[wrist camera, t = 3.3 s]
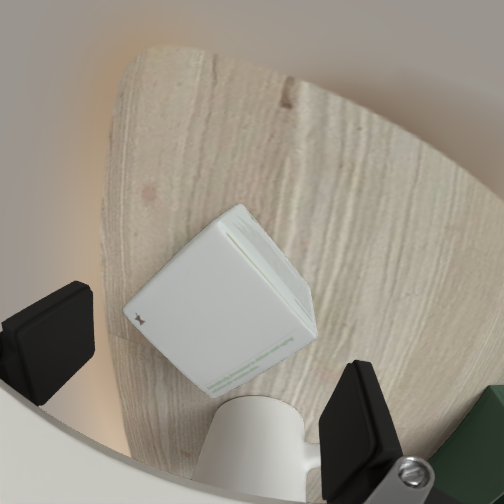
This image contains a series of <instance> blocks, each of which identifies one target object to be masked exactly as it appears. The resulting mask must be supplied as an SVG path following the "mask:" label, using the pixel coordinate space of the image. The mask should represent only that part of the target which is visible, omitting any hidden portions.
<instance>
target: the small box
mask: <svg viewBox="0 0 504 504" xmlns="http://www.w3.org/2000/svg"><path fill="white" fill-rule="evenodd" d="M122 312H123V314H124V315H125V316H126V317H127V318H128V319H129V321H130V322H131V323H132V324H133V325H134V326H135V327H136V328H137V329H138V330H139V331H140V332H141V333H142V334H143V335H144V336H145V337H146V338H147V339H148V340H149V341H150V342H151V343H152V344H153V345H154V346H155V347H156V348H157V349H158V350H159V351H160V352H161V353H162V354H163V355H164V356H165V357H166V358H167V359H168V360H169V361H170V362H171V363H172V364H173V365H174V366H175V367H176V368H177V369H178V370H179V371H181V372H182V373H183V374H184V375H185V376H186V377H187V378H188V379H189V380H190V381H191V382H193V383H194V384H195V385H196V386H197V387H198V388H200V389H201V390H202V391H203V392H205V393H206V394H207V395H208V396H210V397H211V398H212V399H216V398H218V397H220V396H222V395H223V394H225V393H227V392H229V391H231V390H233V389H235V388H237V387H239V386H240V385H242V384H244V383H246V382H248V381H249V380H251V379H253V378H255V377H256V376H258V375H260V374H262V373H263V372H265V371H267V370H268V369H270V368H272V367H273V366H275V365H277V364H278V363H280V362H282V361H283V360H285V359H286V358H288V357H289V356H291V355H293V354H294V353H296V352H298V351H299V350H301V349H302V348H304V347H305V346H307V345H308V344H310V343H312V342H313V341H315V340H316V339H317V338H318V336H317V328H316V321H315V315H314V309H313V303H312V297H311V291H310V287H309V285H308V284H307V283H306V282H305V280H304V279H303V278H302V277H301V275H300V274H299V273H298V271H297V270H296V269H295V268H294V266H293V265H292V264H291V263H290V261H289V260H288V259H287V258H286V256H285V255H284V254H283V253H282V252H281V250H280V249H279V248H278V247H277V245H276V244H275V243H274V242H273V240H272V239H271V238H270V237H269V235H268V234H267V233H266V232H265V230H264V229H263V228H262V227H261V226H260V224H259V223H258V222H257V221H256V220H255V219H254V217H253V216H252V215H251V214H250V213H249V212H248V210H247V209H246V208H245V207H244V206H243V205H242V204H236V205H235V206H233V207H232V208H230V209H229V210H227V211H226V212H224V213H223V214H222V215H220V216H219V217H217V218H216V219H215V220H214V221H212V222H211V223H210V224H209V225H207V226H206V227H205V228H204V229H203V230H202V231H200V232H199V233H198V234H197V235H196V236H195V237H194V238H192V239H191V240H190V241H189V242H188V243H187V244H186V245H185V246H184V247H183V248H182V249H181V250H180V251H178V252H177V253H176V254H175V255H174V256H173V257H172V258H171V259H170V260H169V261H168V262H167V263H166V264H165V265H164V266H163V267H162V268H161V269H160V270H159V271H158V272H157V273H156V274H155V275H154V276H153V277H152V278H151V279H150V280H149V281H148V282H147V283H146V284H145V285H144V286H143V287H142V288H141V289H140V290H139V291H138V292H137V293H136V294H135V295H134V296H133V297H132V298H131V299H130V300H129V301H128V302H127V303H126V305H125V306H124V307H123V309H122Z"/></svg>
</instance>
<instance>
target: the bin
mask: <svg viewBox="0 0 504 504" xmlns="http://www.w3.org/2000/svg"><path fill="white" fill-rule="evenodd" d="M428 463H429V464H430V465H431V467H432V468H433V471H434V474H435V480H434V484H433V486H435V487H436V488H438V489H440V490H441V491H443V492H445V493H446V494H448V495H450V496H451V497H453V498H455V499H456V500H458V501H460V502H462V503H463V504H504V385H489V386H488V388H487V389H486V391H485V392H484V393H483V395H482V396H481V398H480V399H479V401H478V402H477V403H476V405H475V406H474V408H473V409H472V410H471V412H470V413H469V414H468V416H467V417H466V418H465V420H464V421H463V422H462V423H461V425H460V426H459V427H458V428H457V429H456V431H455V432H454V433H453V434H452V435H451V437H450V438H449V439H448V440H447V441H446V442H445V444H444V445H443V446H442V447H441V448H440V449H439V450H438V451H437V452H436V453H435V454H434V456H433V457H432V458H431V459H430V460H429V461H428Z"/></svg>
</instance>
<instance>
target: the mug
mask: <svg viewBox="0 0 504 504" xmlns="http://www.w3.org/2000/svg"><path fill="white" fill-rule="evenodd" d="M318 467H321V457H320V443H306V442H305V433H304V422H303V419H302V417H301V415H300V414H299V412H298V411H297V410H296V409H294V408H293V407H292V406H290V405H289V404H287V403H285V402H283V401H280V400H277V399H274V398H270V397H264V396H244V397H239V398H235V399H232V400H230V401H228V402H226V403H224V404H223V405H221V406H220V407H219V409H218V410H217V411H216V413H215V415H214V418H213V420H212V423H211V426H210V428H209V431H208V433H207V436H206V439H205V442H204V444H203V447H202V450H201V453H200V456H199V458H198V461H197V464H196V467H195V470H194V472H193V475H192V478H191V480H193V481H196V482H200V483H203V484H207V485H211V486H215V487H218V488H223V489H227V490H231V491H236V492H240V493H245V494H251V495H256V496H262V497H268V498H275V499H282V500H289V501H298V502H306V476H307V473H308V472H309V471H310V470H311V469H314V468H318Z"/></svg>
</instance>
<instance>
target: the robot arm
mask: <svg viewBox="0 0 504 504" xmlns="http://www.w3.org/2000/svg"><path fill="white" fill-rule="evenodd" d="M1 324H2V328H3V331H2V332H0V504H321V503H308V502H298V501H289V500H282V499H275V498H268V497H262V496H256V495H251V494H245V493H240V492H236V491H231V490H227V489H223V488H218V487H215V486H211V485H207V484H203V483H200V482H196V481H193V480H190V479H186V478H183V477H180V476H177V475H174V474H171V473H168V472H165V471H163V470H160V469H157V468H155V467H152V466H149V465H147V464H144V463H142V462H139V461H137V460H135V459H132V458H130V457H128V456H125V455H123V454H121V453H119V452H117V451H114V450H112V449H110V448H108V447H106V446H104V445H102V444H100V443H98V442H96V441H94V440H92V439H90V438H88V437H87V436H85V435H83V434H81V433H80V432H78V431H76V430H74V429H72V428H71V427H69V426H67V425H66V424H64V423H62V422H61V421H59V420H57V419H56V418H54V417H53V416H51V415H49V414H48V413H46V412H45V411H43V410H42V409H40V408H39V407H38V406H39V405H41V406H42V405H44V404H45V403H46V402H47V401H48V400H49V399H50V398H51V397H52V396H53V395H54V394H55V393H56V392H57V391H58V390H59V389H60V388H61V387H62V386H63V385H64V384H65V383H66V382H67V381H68V380H69V379H70V378H71V377H72V376H73V375H74V374H75V373H76V372H77V371H78V370H79V369H80V368H81V367H82V366H83V365H84V364H85V363H86V362H87V361H88V360H89V359H91V358H92V356H93V355H94V352H95V341H94V321H93V292H92V291H91V290H90V287H89V285H87V284H84V283H82V282H79V281H74V282H71V283H70V284H68V285H66V286H64V287H62V288H61V289H59V290H57V291H55V292H53V293H51V294H50V295H48V296H46V297H44V298H42V299H41V300H39V301H37V302H35V303H34V304H32V305H30V306H28V307H27V308H25V309H23V310H22V311H20V312H18V313H16V314H15V315H13V316H11V317H10V318H8V319H6V320H5V321H3V322H2V323H1ZM319 439H320V457H321V481H322V499H323V500H327V504H463V503H462V502H460V501H458V500H456V499H455V498H453V497H451V496H450V495H448V494H446V493H445V492H443V491H441V490H440V489H438V488H436V487H435V486H433V484H434V480H435V474H434V471H433V468H432V467H431V465H430V464H429V463H428V462H427V461H425V460H424V459H423V458H420V457H418V456H413V455H408V456H403V453H402V449H401V446H400V443H399V440H398V437H397V434H396V430H395V427H394V424H393V421H392V418H391V415H390V413H389V410H388V407H387V404H386V402H385V399H384V396H383V394H382V391H381V388H380V385H379V383H378V380H377V377H376V374H375V372H374V369H373V366H372V364H371V363H370V362H366V361H360V360H354V361H353V362H352V363H348V364H347V365H346V367H345V369H344V372H343V374H342V376H341V378H340V380H339V382H338V384H337V386H336V388H335V390H334V392H333V394H332V396H331V398H330V400H329V401H328V403H327V405H326V407H325V409H324V411H323V413H322V414H321V417H320V419H319Z"/></svg>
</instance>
